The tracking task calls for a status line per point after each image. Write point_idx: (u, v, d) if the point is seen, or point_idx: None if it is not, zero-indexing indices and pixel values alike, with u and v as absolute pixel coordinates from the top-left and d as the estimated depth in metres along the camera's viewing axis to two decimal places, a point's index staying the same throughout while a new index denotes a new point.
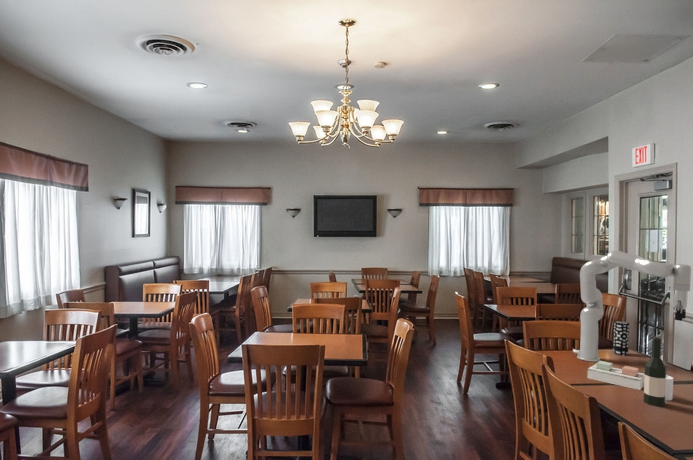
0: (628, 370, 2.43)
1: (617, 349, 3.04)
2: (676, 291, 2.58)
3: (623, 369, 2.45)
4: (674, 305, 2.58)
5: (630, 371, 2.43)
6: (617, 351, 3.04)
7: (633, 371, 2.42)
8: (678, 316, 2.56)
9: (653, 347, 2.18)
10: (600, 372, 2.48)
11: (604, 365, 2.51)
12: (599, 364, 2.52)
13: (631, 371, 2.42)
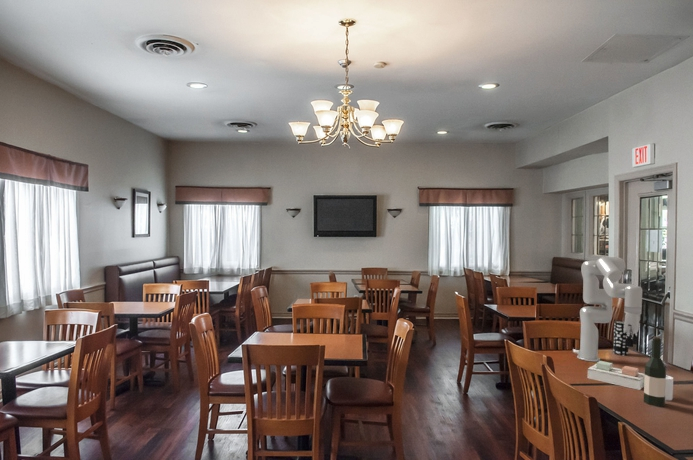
0: (628, 370, 2.43)
1: (617, 349, 3.04)
2: (626, 314, 2.43)
3: (623, 369, 2.45)
4: (624, 329, 2.43)
5: (630, 371, 2.43)
6: (617, 351, 3.04)
7: (633, 371, 2.42)
8: (629, 342, 2.42)
9: (653, 347, 2.18)
10: (600, 372, 2.48)
11: (604, 365, 2.51)
12: (599, 364, 2.52)
13: (631, 371, 2.42)
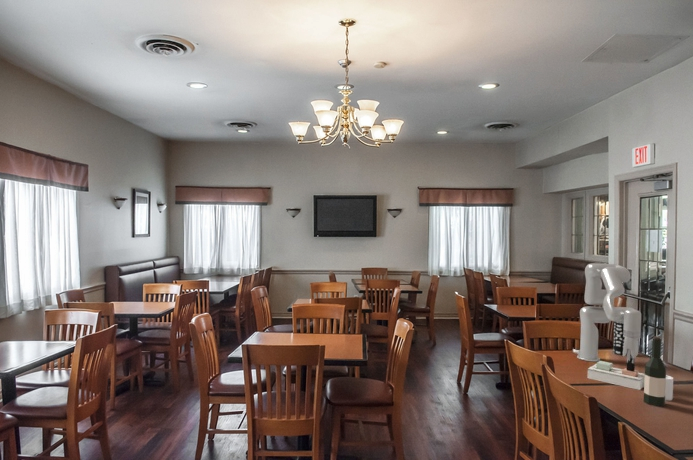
0: (628, 372, 2.43)
1: (617, 349, 3.04)
2: (626, 339, 2.43)
3: (623, 371, 2.45)
4: (623, 353, 2.43)
5: (630, 373, 2.43)
6: (617, 351, 3.04)
7: (633, 373, 2.42)
8: (630, 366, 2.44)
9: (653, 347, 2.18)
10: (600, 372, 2.48)
11: (604, 365, 2.51)
12: (599, 364, 2.52)
13: (631, 373, 2.42)
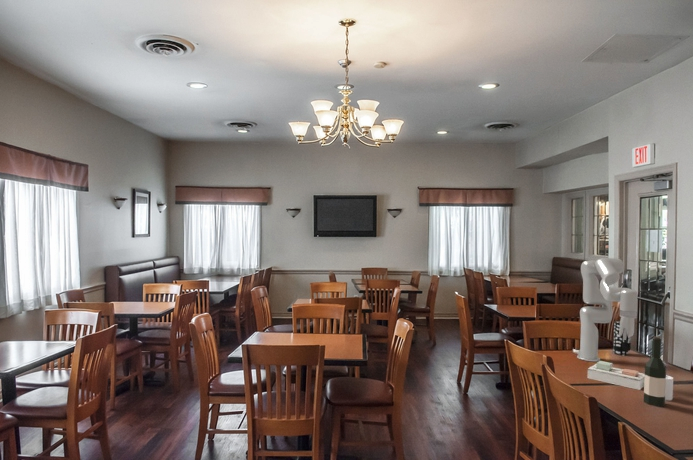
0: (628, 373, 2.43)
1: (617, 349, 3.04)
2: (622, 318, 2.44)
3: (623, 372, 2.45)
4: (620, 333, 2.44)
5: (630, 374, 2.43)
6: (617, 351, 3.04)
7: (633, 374, 2.42)
8: (626, 346, 2.46)
9: (653, 347, 2.18)
10: (600, 372, 2.48)
11: (604, 365, 2.51)
12: (599, 364, 2.52)
13: (631, 374, 2.42)
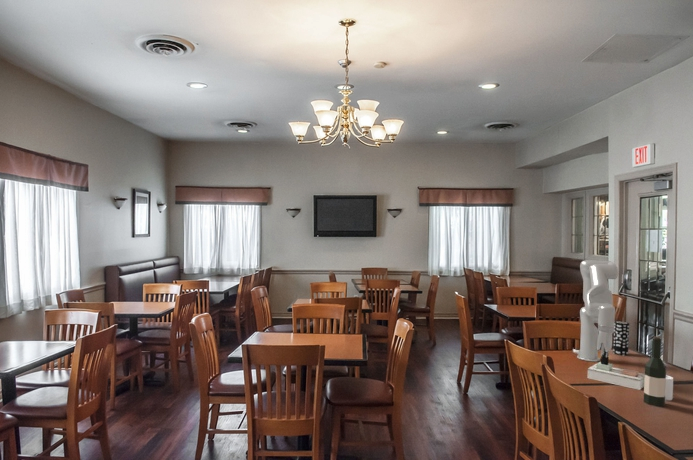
0: (628, 373, 2.43)
1: (617, 349, 3.04)
2: (600, 333, 2.51)
3: (623, 372, 2.45)
4: (598, 347, 2.51)
5: (630, 374, 2.43)
6: (617, 351, 3.04)
7: (633, 374, 2.42)
8: (604, 360, 2.52)
9: (653, 347, 2.18)
10: (600, 372, 2.48)
11: (604, 366, 2.51)
12: (599, 365, 2.52)
13: (631, 374, 2.42)
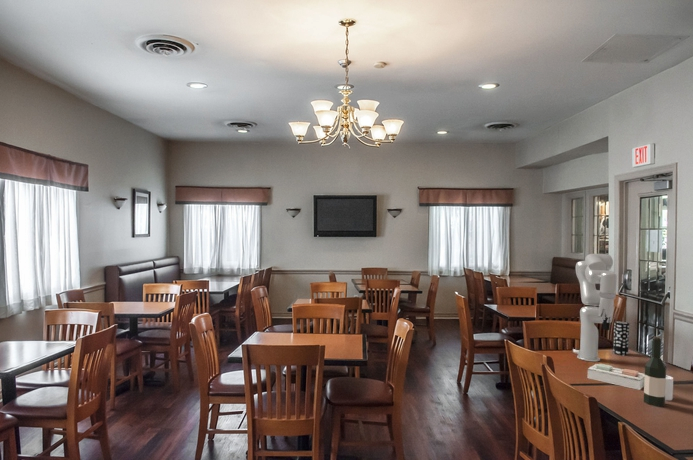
0: (628, 373, 2.43)
1: (617, 349, 3.04)
2: (601, 299, 2.56)
3: (623, 372, 2.45)
4: (599, 313, 2.57)
5: (630, 374, 2.43)
6: (617, 351, 3.04)
7: (633, 374, 2.42)
8: (605, 326, 2.58)
9: (653, 347, 2.18)
10: (600, 372, 2.48)
11: (604, 368, 2.51)
12: (599, 367, 2.52)
13: (631, 374, 2.42)
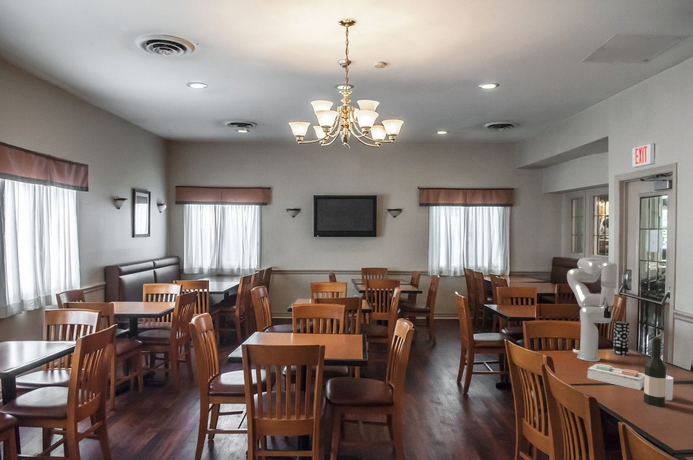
0: (628, 373, 2.43)
1: (617, 349, 3.04)
2: (603, 288, 2.66)
3: (623, 372, 2.45)
4: (601, 302, 2.66)
5: (630, 374, 2.43)
6: (617, 351, 3.04)
7: (633, 374, 2.42)
8: (606, 314, 2.67)
9: (653, 347, 2.18)
10: (600, 372, 2.48)
11: (604, 368, 2.51)
12: (599, 367, 2.52)
13: (631, 374, 2.42)
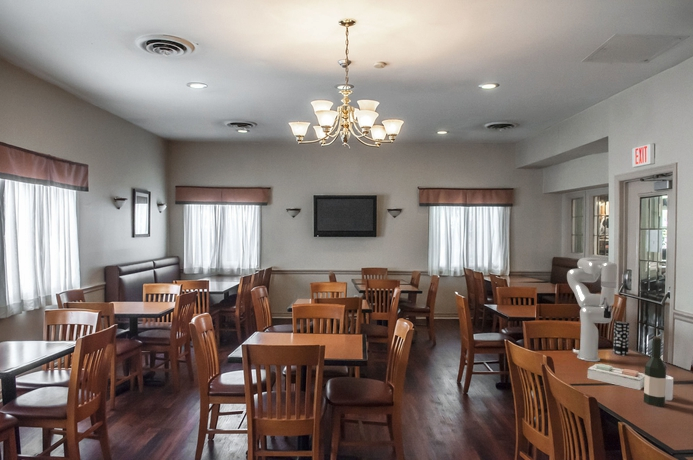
0: (628, 373, 2.43)
1: (617, 349, 3.04)
2: (603, 288, 2.66)
3: (623, 372, 2.45)
4: (601, 302, 2.66)
5: (630, 374, 2.43)
6: (617, 351, 3.04)
7: (633, 374, 2.42)
8: (606, 314, 2.67)
9: (653, 347, 2.18)
10: (600, 372, 2.48)
11: (604, 368, 2.51)
12: (599, 367, 2.52)
13: (631, 374, 2.42)
